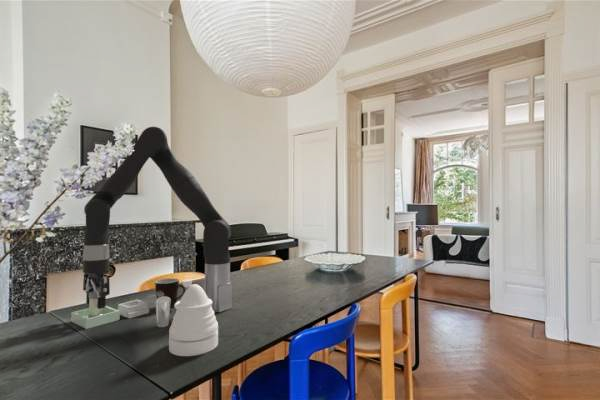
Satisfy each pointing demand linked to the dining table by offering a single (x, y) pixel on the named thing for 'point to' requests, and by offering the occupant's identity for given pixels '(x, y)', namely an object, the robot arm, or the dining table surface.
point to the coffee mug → (168, 289)
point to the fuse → (94, 305)
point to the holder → (133, 308)
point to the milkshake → (163, 311)
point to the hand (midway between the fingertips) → (95, 305)
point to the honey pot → (193, 323)
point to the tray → (85, 322)
